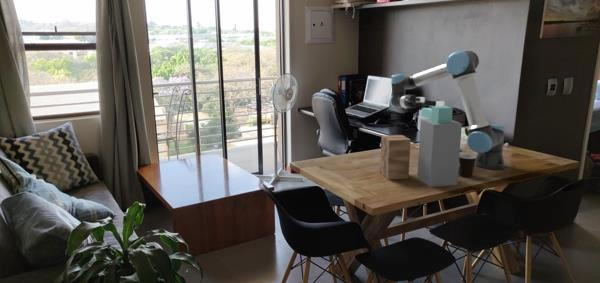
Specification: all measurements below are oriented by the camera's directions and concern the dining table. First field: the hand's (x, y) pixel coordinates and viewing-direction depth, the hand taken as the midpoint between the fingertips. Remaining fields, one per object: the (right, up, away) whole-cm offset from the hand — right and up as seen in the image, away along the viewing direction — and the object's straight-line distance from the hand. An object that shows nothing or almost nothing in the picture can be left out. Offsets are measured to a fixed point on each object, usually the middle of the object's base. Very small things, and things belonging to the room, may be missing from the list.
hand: (434, 101), depth 234 cm
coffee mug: (+15, -38, -4) cm, 41 cm away
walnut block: (-23, -38, -5) cm, 45 cm away
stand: (-4, -41, -15) cm, 43 cm away
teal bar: (-5, -10, -15) cm, 19 cm away
